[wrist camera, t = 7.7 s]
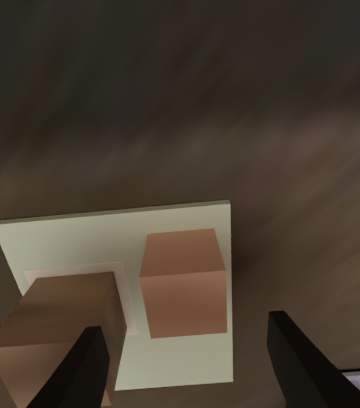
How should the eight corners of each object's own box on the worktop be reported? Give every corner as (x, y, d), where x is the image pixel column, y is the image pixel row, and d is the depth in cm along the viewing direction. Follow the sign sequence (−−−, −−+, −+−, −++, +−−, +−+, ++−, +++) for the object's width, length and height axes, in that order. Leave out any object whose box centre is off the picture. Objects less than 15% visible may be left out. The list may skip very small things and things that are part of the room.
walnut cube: (127, 327, 19) (111, 405, 14) (58, 333, 19) (20, 412, 14) (113, 271, 17) (90, 340, 12) (36, 278, 17) (-16, 348, 12)
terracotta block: (216, 281, 17) (227, 332, 13) (156, 286, 17) (151, 338, 14) (214, 228, 16) (225, 270, 12) (147, 233, 16) (139, 277, 12)
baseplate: (231, 374, 22) (233, 382, 21) (67, 386, 22) (64, 395, 22) (228, 199, 15) (230, 204, 15) (-2, 220, 16) (-10, 225, 15)
